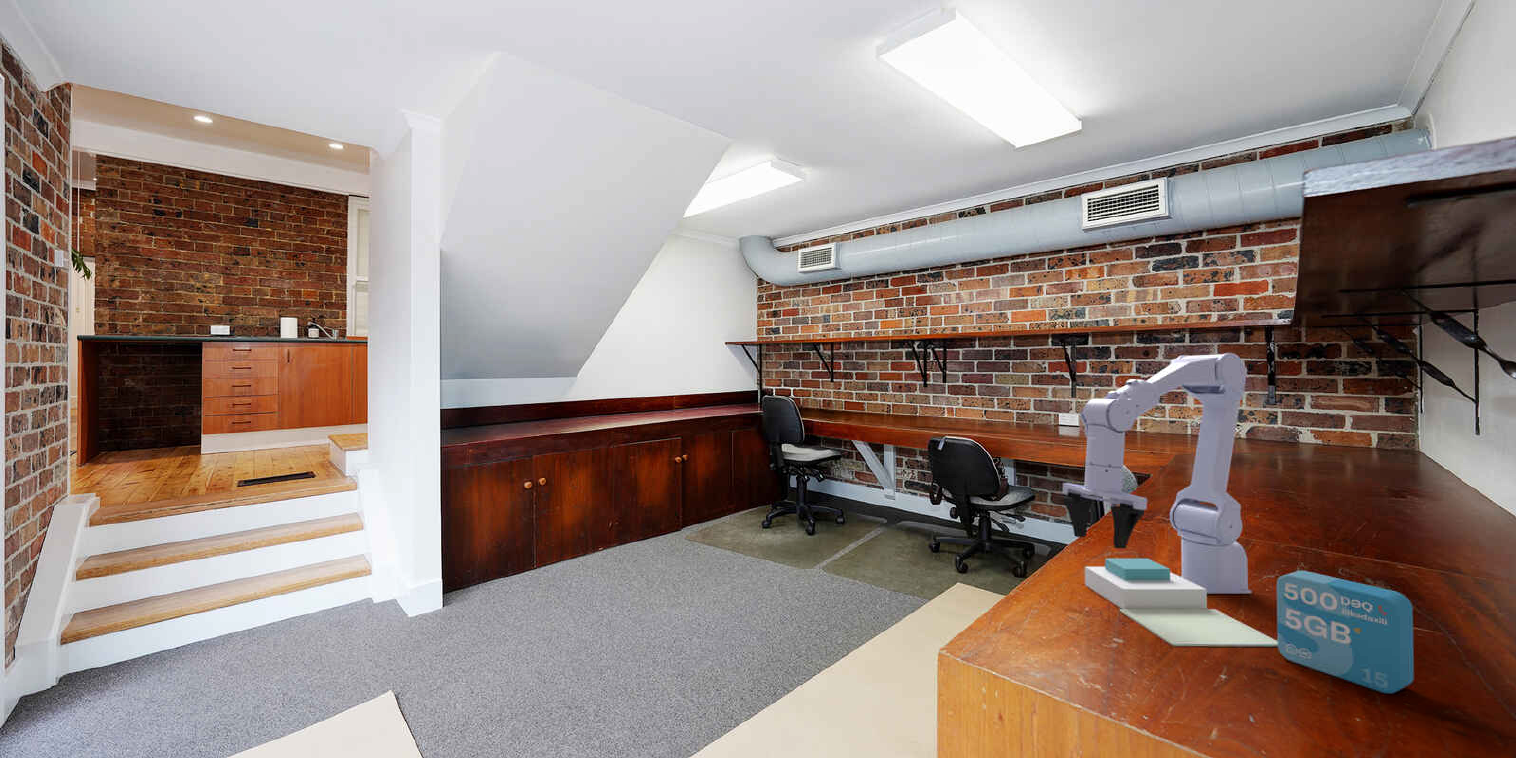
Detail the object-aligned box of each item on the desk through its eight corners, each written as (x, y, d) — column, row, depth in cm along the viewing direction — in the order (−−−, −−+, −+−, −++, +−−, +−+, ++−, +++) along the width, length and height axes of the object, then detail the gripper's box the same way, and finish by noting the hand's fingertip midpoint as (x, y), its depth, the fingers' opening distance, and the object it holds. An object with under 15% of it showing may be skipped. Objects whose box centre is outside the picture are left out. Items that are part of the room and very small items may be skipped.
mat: (1215, 611, 97) (1215, 609, 97) (1283, 646, 84) (1283, 644, 84) (1119, 610, 97) (1119, 609, 97) (1173, 646, 84) (1173, 644, 84)
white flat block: (1159, 585, 109) (1158, 566, 109) (1206, 609, 97) (1206, 589, 97) (1085, 584, 110) (1084, 566, 110) (1123, 609, 98) (1123, 589, 98)
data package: (1277, 657, 81) (1275, 572, 81) (1293, 650, 83) (1291, 567, 83) (1399, 699, 70) (1398, 600, 70) (1414, 690, 72) (1413, 594, 72)
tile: (1148, 569, 108) (1147, 558, 108) (1170, 580, 102) (1170, 568, 102) (1105, 569, 108) (1105, 558, 108) (1124, 580, 102) (1124, 568, 102)
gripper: (1052, 459, 107) (1048, 532, 107) (1128, 471, 94) (1123, 554, 93) (1079, 460, 110) (1074, 531, 109) (1156, 472, 96) (1152, 553, 96)
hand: (1099, 542), depth 102 cm, fingers open, 7 cm apart
